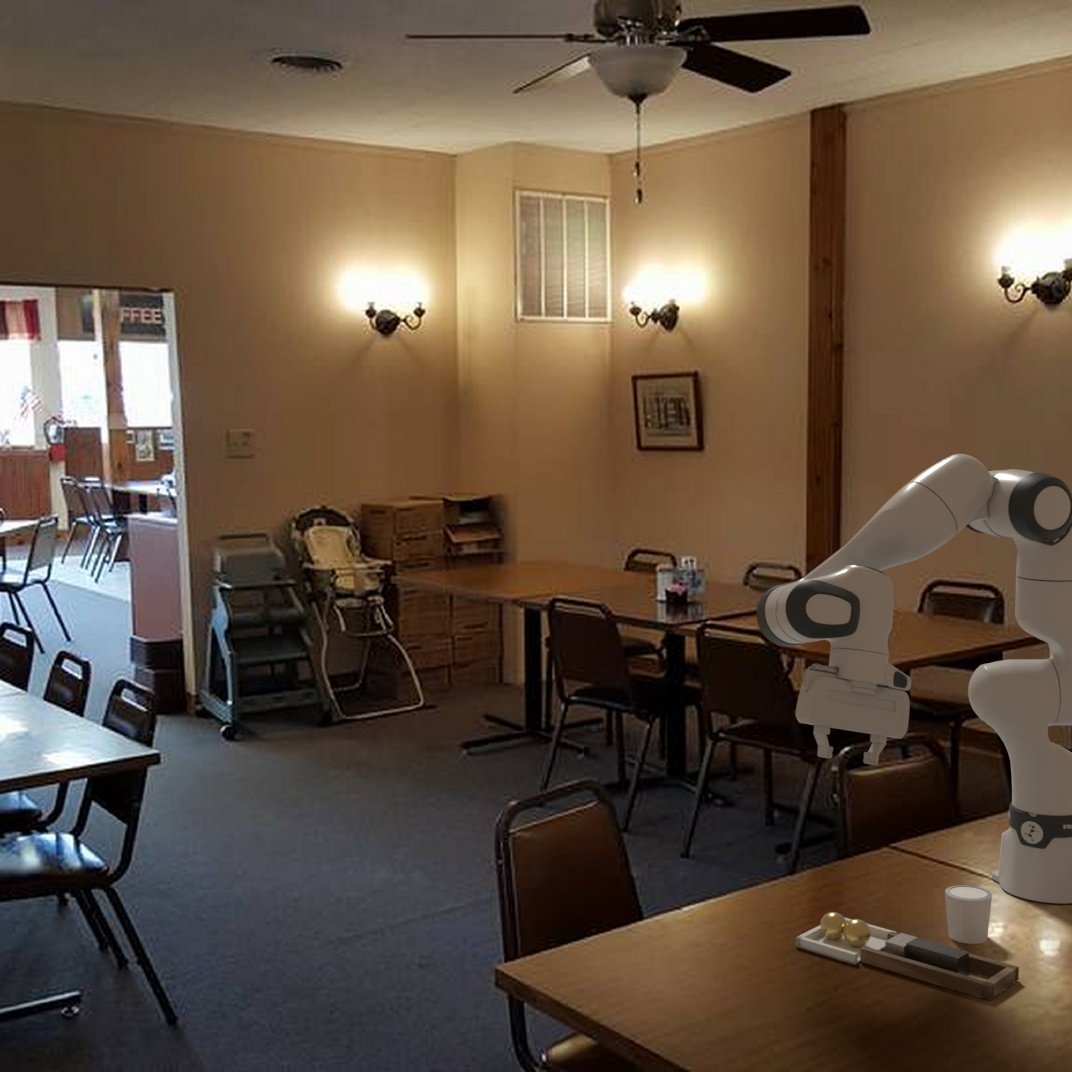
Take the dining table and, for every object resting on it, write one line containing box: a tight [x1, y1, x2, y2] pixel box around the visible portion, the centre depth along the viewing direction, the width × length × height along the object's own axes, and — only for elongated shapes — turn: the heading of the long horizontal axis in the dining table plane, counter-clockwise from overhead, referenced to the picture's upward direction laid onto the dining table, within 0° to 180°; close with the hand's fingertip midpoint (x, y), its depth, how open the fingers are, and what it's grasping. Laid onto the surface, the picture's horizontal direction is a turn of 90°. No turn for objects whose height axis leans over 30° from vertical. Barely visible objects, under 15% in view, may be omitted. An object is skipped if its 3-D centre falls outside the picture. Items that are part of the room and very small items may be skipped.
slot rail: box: [859, 930, 1020, 1001], centre depth 187 cm, size 9×20×2 cm, turn 46°
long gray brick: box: [884, 932, 970, 977], centre depth 188 cm, size 4×4×11 cm
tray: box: [795, 916, 898, 966], centre depth 197 cm, size 12×10×2 cm
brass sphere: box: [843, 918, 871, 947], centre depth 196 cm, size 4×4×4 cm
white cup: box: [944, 884, 993, 945], centre depth 199 cm, size 7×7×7 cm
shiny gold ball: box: [820, 911, 847, 940], centre depth 199 cm, size 4×4×4 cm
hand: (847, 761), depth 200 cm, fingers open, 8 cm apart
